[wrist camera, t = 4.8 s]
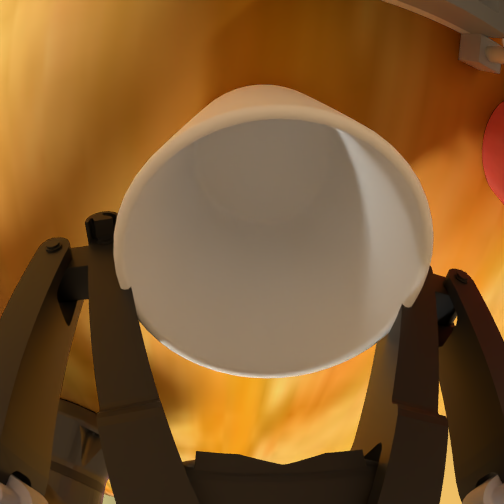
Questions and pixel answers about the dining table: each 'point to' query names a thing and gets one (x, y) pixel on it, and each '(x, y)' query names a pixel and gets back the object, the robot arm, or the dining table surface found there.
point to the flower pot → (495, 152)
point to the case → (468, 27)
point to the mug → (272, 236)
